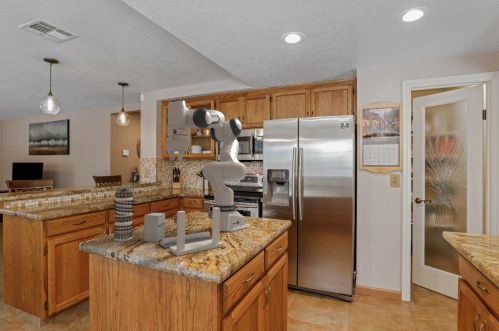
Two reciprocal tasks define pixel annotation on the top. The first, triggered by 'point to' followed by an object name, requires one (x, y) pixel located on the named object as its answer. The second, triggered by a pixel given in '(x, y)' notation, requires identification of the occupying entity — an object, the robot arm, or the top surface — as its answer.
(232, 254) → the top surface
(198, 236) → the steel bar
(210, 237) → the rubber mat
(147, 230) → the supplement box
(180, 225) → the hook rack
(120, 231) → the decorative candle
